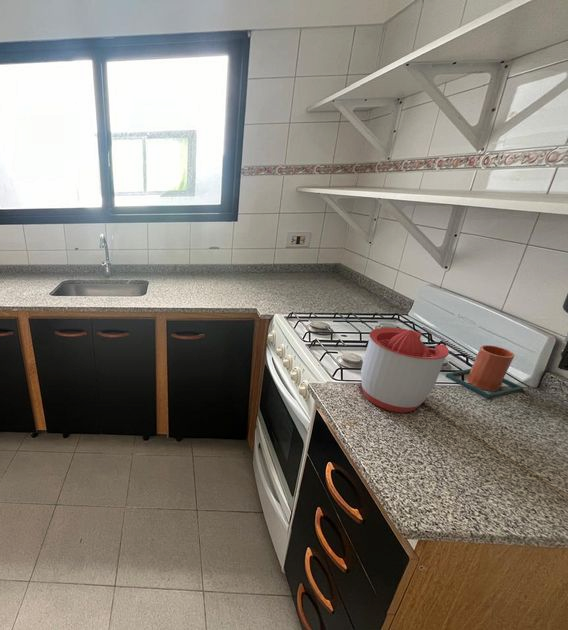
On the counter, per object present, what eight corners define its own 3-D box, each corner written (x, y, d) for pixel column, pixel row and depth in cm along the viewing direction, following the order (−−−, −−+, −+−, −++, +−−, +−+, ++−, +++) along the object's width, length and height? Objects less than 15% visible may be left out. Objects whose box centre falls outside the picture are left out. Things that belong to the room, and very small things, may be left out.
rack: (476, 374, 99) (479, 366, 98) (520, 395, 90) (524, 387, 89) (443, 381, 96) (446, 373, 95) (485, 403, 87) (489, 395, 86)
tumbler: (476, 378, 96) (492, 343, 92) (503, 391, 91) (521, 355, 86) (459, 382, 95) (474, 347, 90) (485, 395, 89) (502, 359, 85)
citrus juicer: (448, 413, 84) (479, 340, 76) (387, 423, 81) (413, 349, 73) (394, 377, 98) (415, 313, 90) (340, 385, 95) (357, 319, 87)
